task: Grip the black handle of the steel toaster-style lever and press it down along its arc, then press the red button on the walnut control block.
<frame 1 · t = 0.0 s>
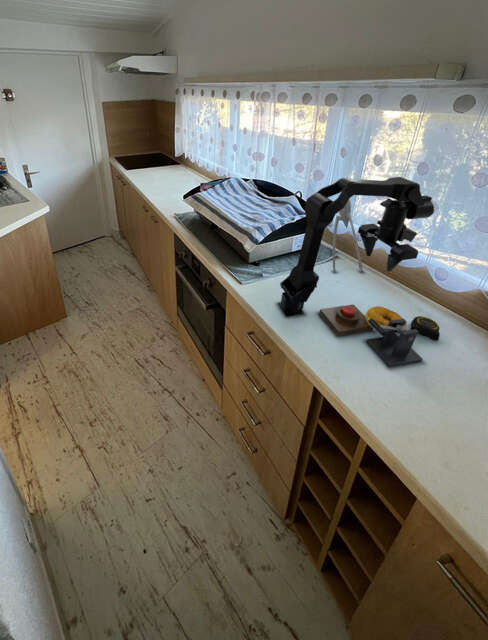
hand: (378, 263, 100), 15 cm above the worktop, tool pointing down, fingers open, 9 cm apart
button block: (344, 322, 97), on the worktop
lever: (390, 329, 81), point 9 cm above the worktop, hinge at 20.0°
button: (348, 311, 95), point 4 cm above the worktop, slide at 0.1 cm
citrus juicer: (347, 271, 118), point 2 cm above the worktop
yellow donut: (388, 315, 90), point 6 cm above the worktop
bracket: (392, 351, 86), on the worktop
tape measure: (423, 334, 92), on the worktop
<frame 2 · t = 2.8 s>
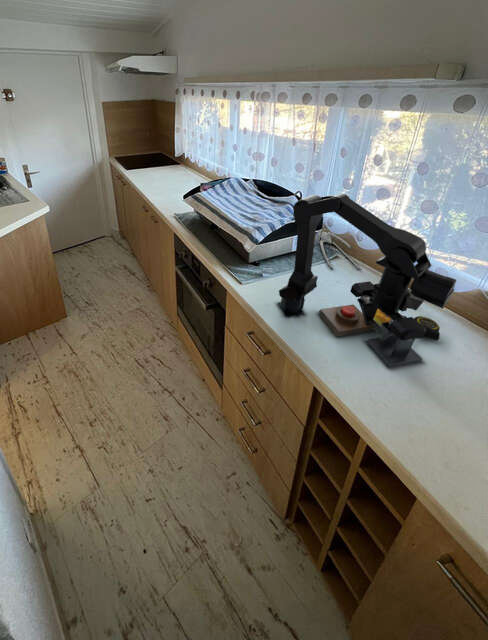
hand: (375, 332, 81), 9 cm above the worktop, tool pointing down, fingers closed on lever, 5 cm apart
lever: (390, 329, 81), point 9 cm above the worktop, hinge at 20.0°, touching gripper
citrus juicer: (343, 263, 121), point 3 cm above the worktop
yellow donut: (388, 314, 92), point 5 cm above the worktop, touching bracket, button block
everything else where it was.
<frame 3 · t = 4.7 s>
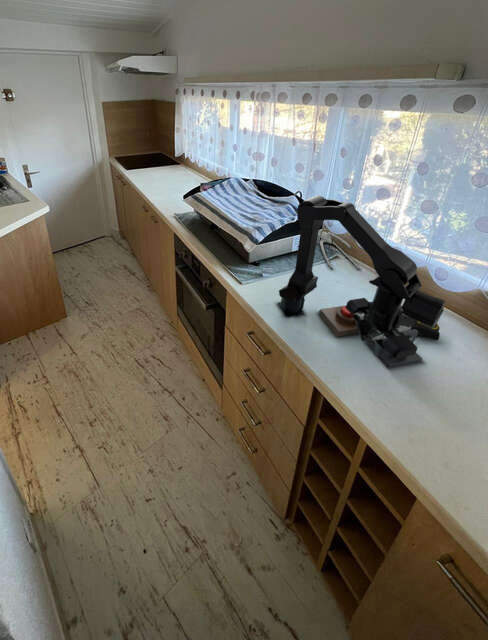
hand: (369, 347, 83), 3 cm above the worktop, tool pointing down, fingers closed on lever, 5 cm apart
lever: (387, 336, 82), point 7 cm above the worktop, hinge at -15.0°, touching gripper
everything else where it was.
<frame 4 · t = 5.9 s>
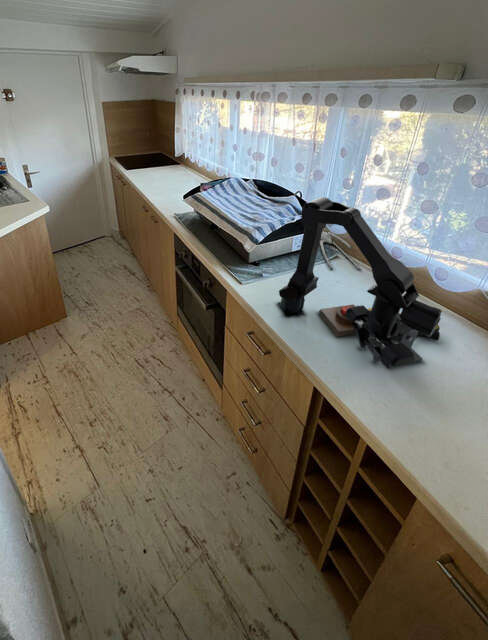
hand: (369, 354, 85), 0 cm above the worktop, tool pointing down, fingers closed on lever, 5 cm apart
lever: (387, 338, 83), point 6 cm above the worktop, hinge at -29.5°, touching gripper
everything else where it was.
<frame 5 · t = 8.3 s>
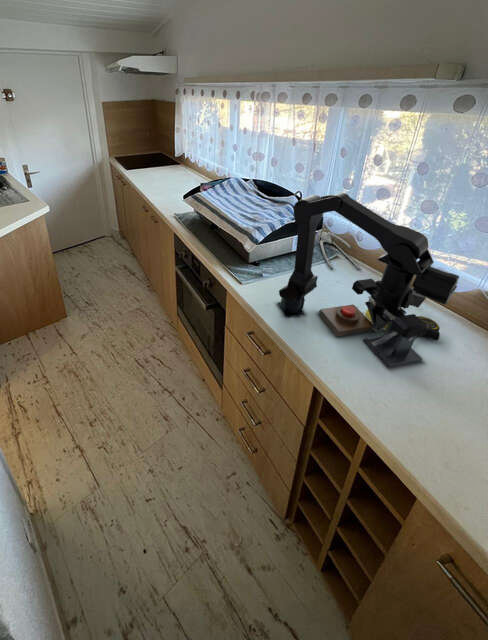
hand: (376, 330, 80), 10 cm above the worktop, tool pointing down, fingers closed
lever: (387, 338, 83), point 6 cm above the worktop, hinge at -28.6°
everything else where it was.
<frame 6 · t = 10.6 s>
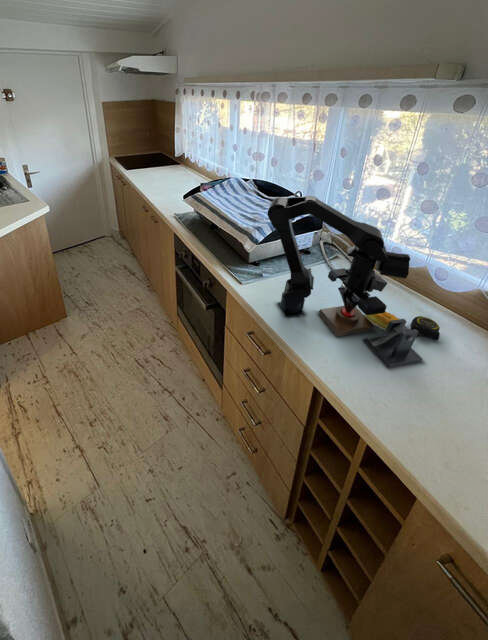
hand: (348, 311, 95), 4 cm above the worktop, tool pointing down, fingers closed, pressing on button
button: (347, 313, 95), point 4 cm above the worktop, slide at -0.8 cm, touching gripper
everything else where it was.
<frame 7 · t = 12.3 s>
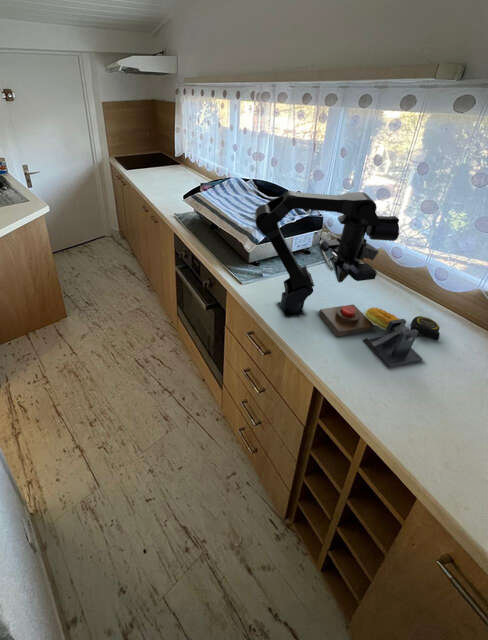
hand: (339, 281, 94), 13 cm above the worktop, tool pointing down, fingers closed
button: (348, 311, 95), point 4 cm above the worktop, slide at 0.1 cm
everything else where it was.
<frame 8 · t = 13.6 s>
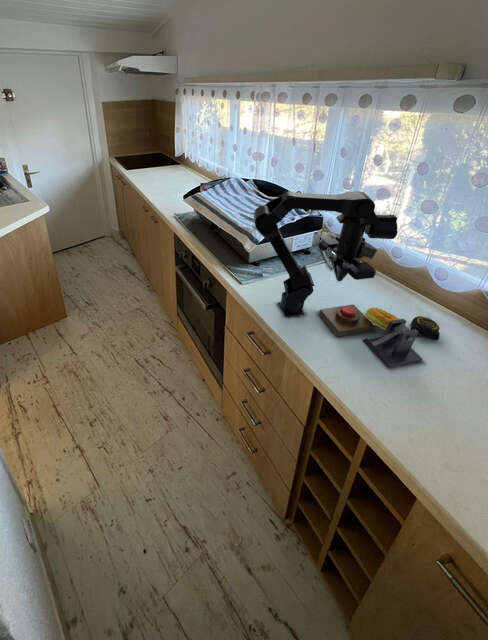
hand: (338, 280, 94), 13 cm above the worktop, tool pointing down, fingers closed
nothing on the worktop moved.
at the end: lever at -29° (first picture: +20°); button pushed in 1.1 cm at the most during the clip, back to where it started at the end; button slide at 0.1 cm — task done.
